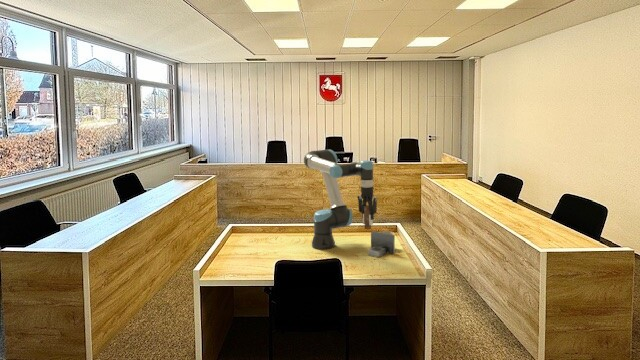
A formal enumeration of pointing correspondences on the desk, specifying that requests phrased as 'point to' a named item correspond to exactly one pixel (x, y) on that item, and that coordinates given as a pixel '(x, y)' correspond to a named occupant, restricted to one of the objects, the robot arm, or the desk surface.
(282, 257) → the desk surface
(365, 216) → the handle
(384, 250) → the bracket
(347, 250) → the desk surface
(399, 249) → the desk surface
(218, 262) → the desk surface
